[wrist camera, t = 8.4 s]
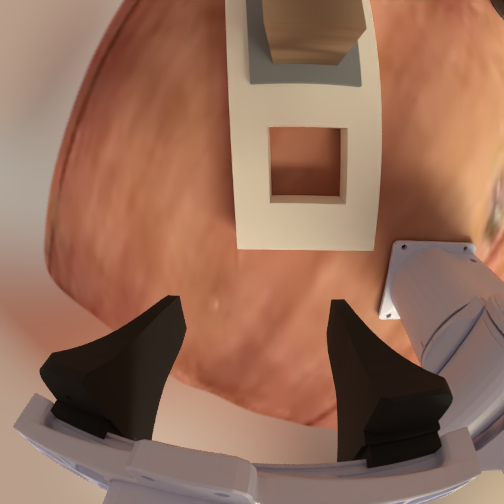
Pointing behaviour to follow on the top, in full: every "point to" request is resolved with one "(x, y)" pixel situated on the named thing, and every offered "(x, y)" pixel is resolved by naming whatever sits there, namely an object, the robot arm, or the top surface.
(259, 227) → the pocket board
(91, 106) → the top surface
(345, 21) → the walnut block
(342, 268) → the top surface
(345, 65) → the slate mat
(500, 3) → the beverage cup
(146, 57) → the top surface
